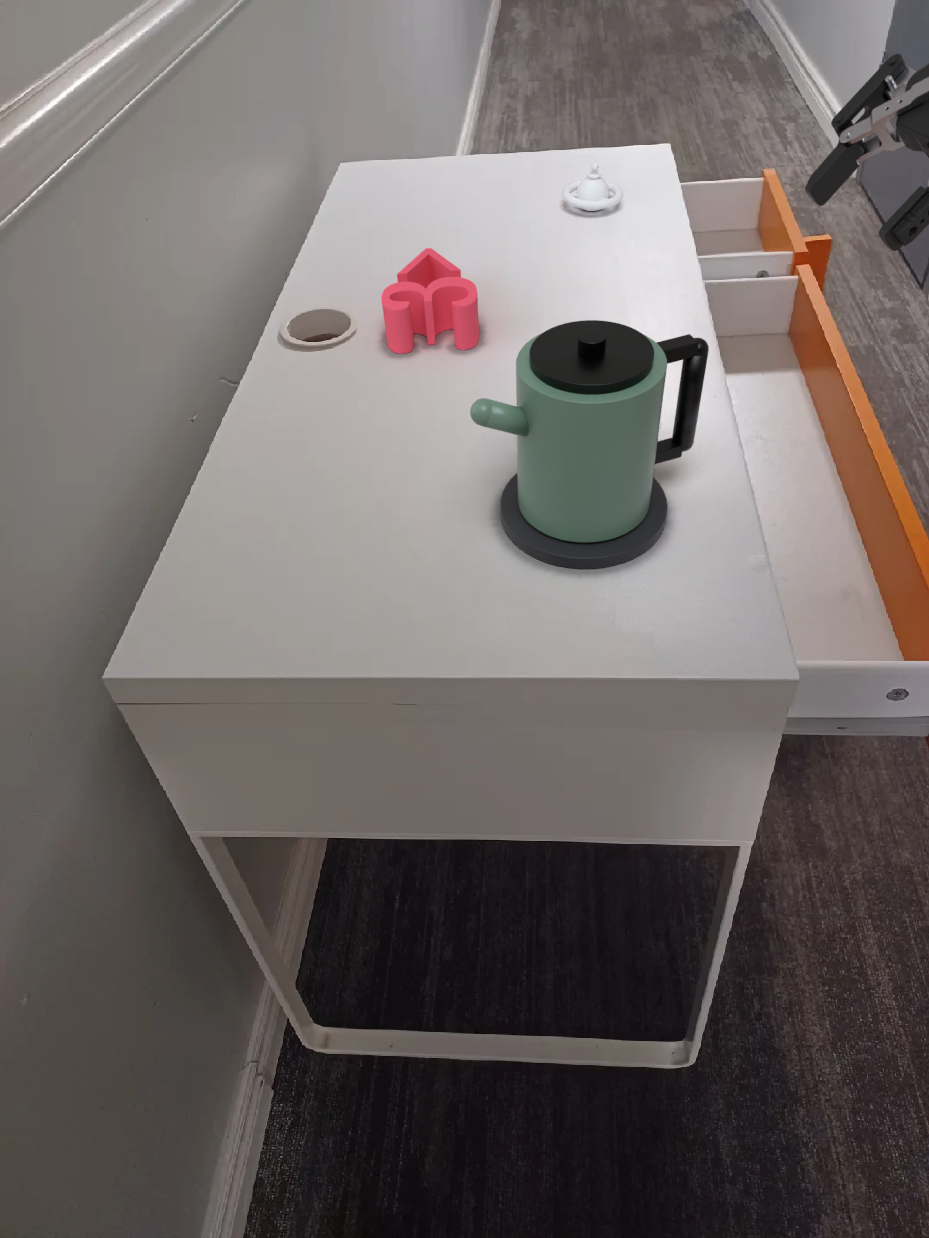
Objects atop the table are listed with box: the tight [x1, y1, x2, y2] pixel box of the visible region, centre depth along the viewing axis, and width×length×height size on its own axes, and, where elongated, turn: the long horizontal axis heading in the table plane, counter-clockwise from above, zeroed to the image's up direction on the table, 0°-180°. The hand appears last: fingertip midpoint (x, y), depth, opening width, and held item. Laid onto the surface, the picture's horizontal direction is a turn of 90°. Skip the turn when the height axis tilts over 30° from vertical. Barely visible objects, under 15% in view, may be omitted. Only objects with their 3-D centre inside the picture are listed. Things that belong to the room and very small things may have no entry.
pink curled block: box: [381, 247, 480, 355], centre depth 97 cm, size 14×10×5 cm
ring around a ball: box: [561, 162, 624, 212], centre depth 115 cm, size 8×6×8 cm
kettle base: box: [499, 471, 668, 570], centre depth 75 cm, size 14×14×1 cm
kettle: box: [469, 319, 710, 543], centre depth 69 cm, size 19×11×15 cm, turn 110°
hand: (847, 220), depth 64 cm, fingers open, 8 cm apart
